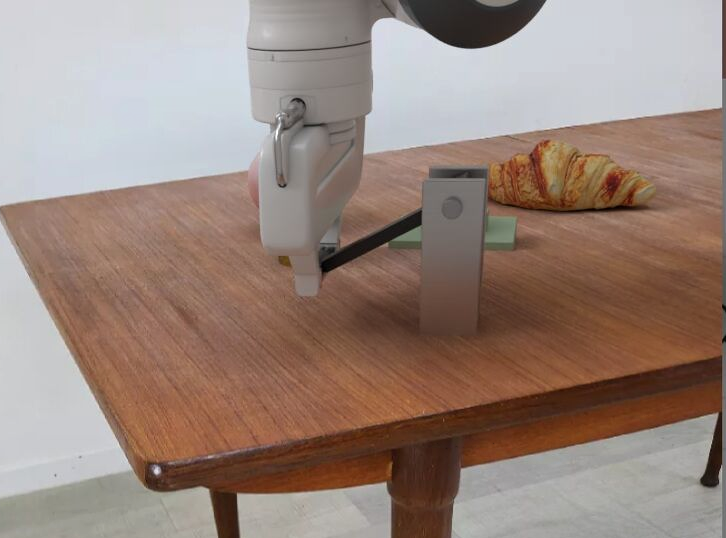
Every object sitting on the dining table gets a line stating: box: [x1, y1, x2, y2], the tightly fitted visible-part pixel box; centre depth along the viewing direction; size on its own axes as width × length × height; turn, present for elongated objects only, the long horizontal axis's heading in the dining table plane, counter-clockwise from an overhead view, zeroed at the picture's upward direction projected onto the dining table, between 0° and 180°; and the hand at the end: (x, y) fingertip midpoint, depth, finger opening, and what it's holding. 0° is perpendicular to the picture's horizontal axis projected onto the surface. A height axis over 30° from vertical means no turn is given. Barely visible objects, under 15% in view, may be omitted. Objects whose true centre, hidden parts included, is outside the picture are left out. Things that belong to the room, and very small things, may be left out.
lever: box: [318, 172, 470, 283], centre depth 72 cm, size 14×6×2 cm, turn 77°
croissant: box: [488, 139, 658, 212], centre depth 106 cm, size 21×10×8 cm, turn 66°
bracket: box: [418, 164, 489, 337], centre depth 72 cm, size 10×8×13 cm
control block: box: [387, 206, 518, 251], centre depth 94 cm, size 12×9×4 cm
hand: (318, 278), depth 76 cm, fingers closed on lever, 5 cm apart
